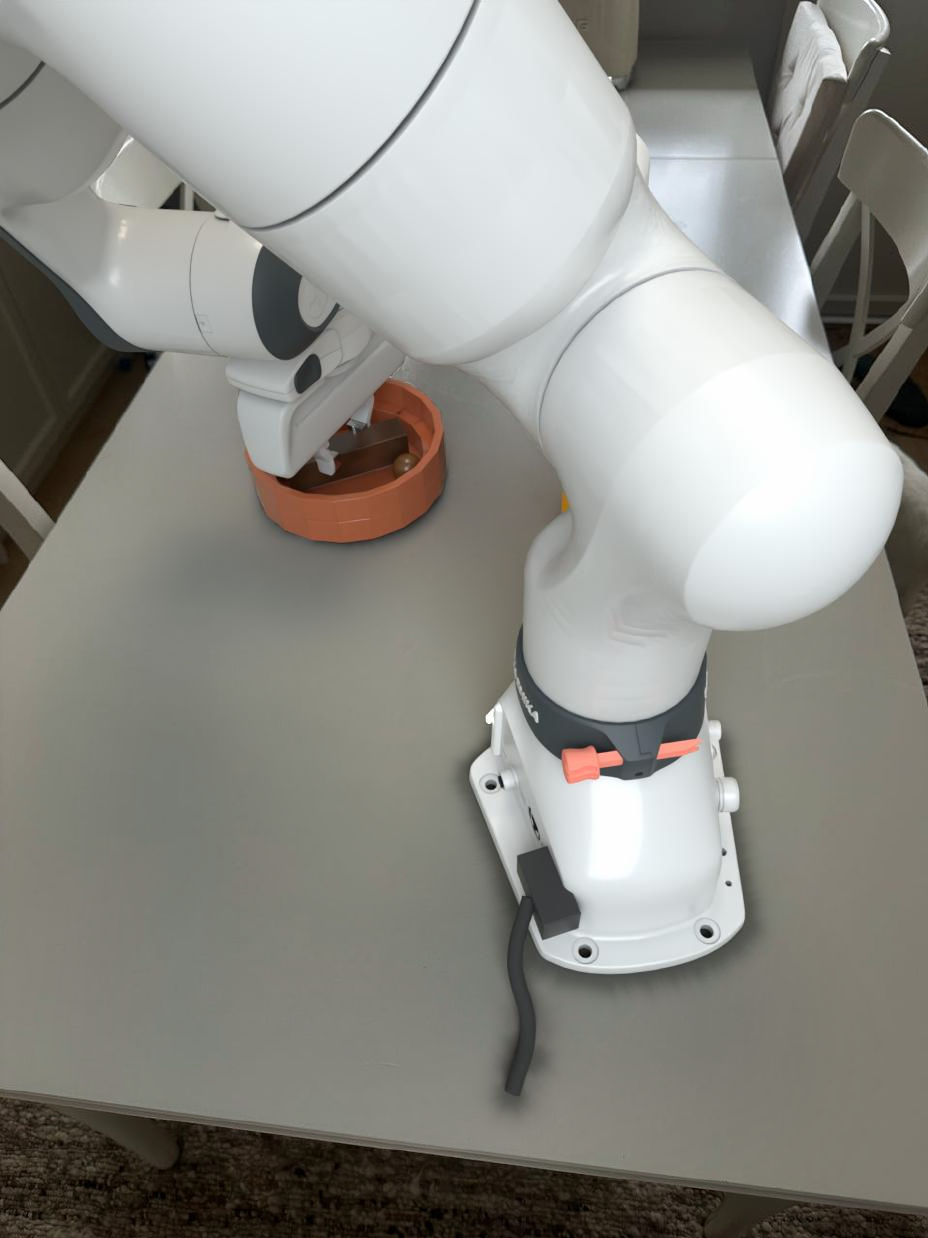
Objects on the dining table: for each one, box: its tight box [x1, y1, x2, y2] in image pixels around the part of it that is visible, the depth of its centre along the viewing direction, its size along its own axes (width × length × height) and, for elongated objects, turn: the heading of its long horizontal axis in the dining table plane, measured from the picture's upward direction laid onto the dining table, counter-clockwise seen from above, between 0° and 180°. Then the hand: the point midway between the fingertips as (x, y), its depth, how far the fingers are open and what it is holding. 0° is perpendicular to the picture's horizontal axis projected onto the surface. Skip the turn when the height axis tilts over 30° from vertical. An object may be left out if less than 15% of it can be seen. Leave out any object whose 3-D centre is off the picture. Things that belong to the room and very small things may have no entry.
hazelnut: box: [392, 453, 420, 479], centre depth 83 cm, size 3×3×3 cm
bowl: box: [244, 377, 448, 544], centre depth 84 cm, size 19×19×6 cm
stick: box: [285, 418, 409, 492], centre depth 83 cm, size 12×3×3 cm, turn 112°
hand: (346, 452), depth 83 cm, fingers closed on stick, 4 cm apart
